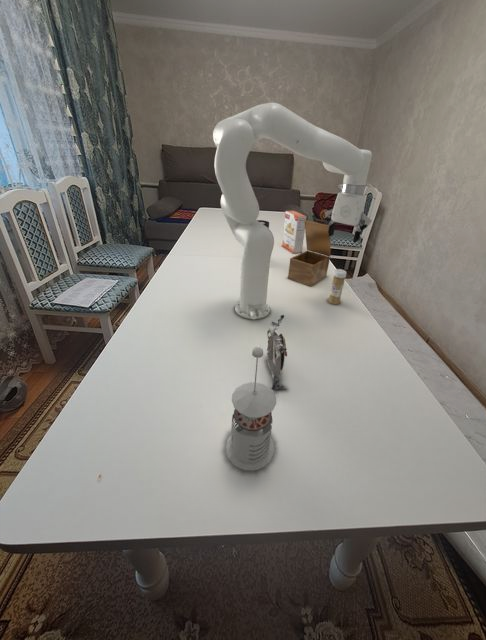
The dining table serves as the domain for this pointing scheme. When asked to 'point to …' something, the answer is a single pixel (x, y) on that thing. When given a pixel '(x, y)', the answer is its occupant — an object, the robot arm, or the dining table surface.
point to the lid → (318, 237)
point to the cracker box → (294, 231)
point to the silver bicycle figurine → (276, 353)
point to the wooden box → (308, 268)
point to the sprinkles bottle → (337, 286)
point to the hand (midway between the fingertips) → (342, 238)
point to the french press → (252, 424)
